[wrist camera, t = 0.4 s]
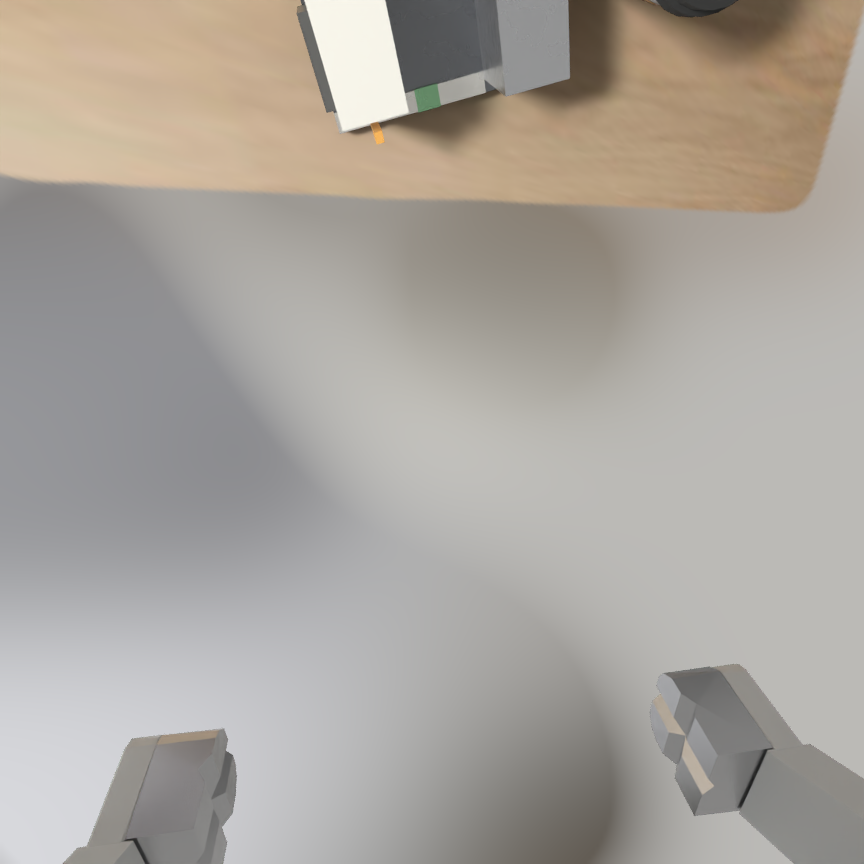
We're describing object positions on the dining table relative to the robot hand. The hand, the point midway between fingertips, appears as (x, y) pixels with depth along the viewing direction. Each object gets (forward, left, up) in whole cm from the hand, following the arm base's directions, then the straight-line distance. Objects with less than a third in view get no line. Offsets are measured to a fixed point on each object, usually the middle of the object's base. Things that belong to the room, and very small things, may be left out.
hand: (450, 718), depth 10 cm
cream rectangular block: (-4, -1, -49) cm, 49 cm away
